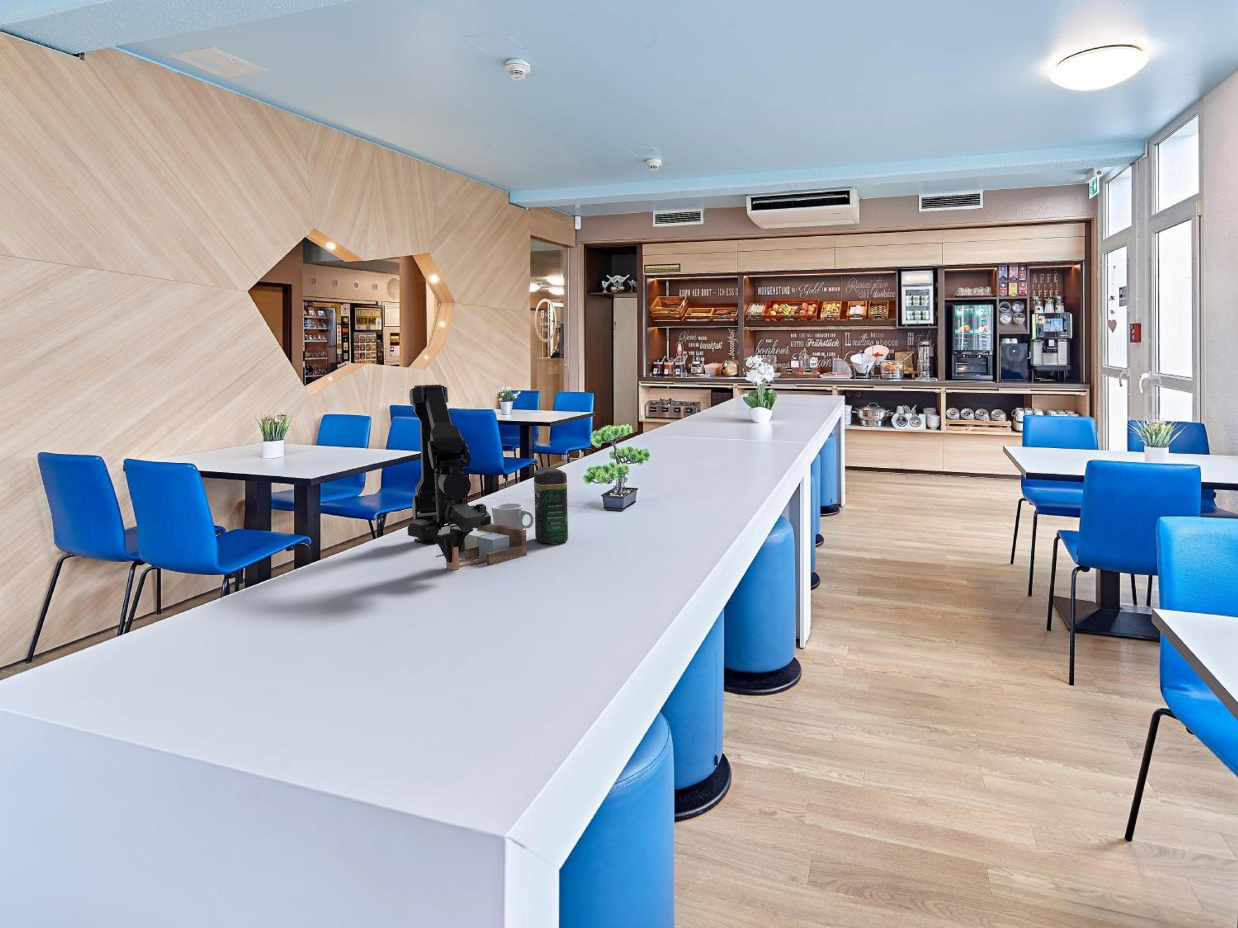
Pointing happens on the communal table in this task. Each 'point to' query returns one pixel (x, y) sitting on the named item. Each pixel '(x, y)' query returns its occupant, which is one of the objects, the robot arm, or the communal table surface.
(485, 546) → the wooden bar with block
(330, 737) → the communal table surface
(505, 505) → the cup
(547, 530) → the coffee jar
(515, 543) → the lane rack
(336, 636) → the communal table surface
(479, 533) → the green block
